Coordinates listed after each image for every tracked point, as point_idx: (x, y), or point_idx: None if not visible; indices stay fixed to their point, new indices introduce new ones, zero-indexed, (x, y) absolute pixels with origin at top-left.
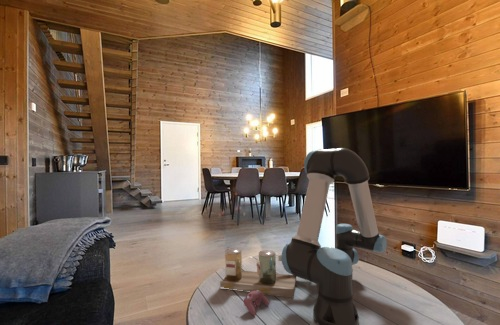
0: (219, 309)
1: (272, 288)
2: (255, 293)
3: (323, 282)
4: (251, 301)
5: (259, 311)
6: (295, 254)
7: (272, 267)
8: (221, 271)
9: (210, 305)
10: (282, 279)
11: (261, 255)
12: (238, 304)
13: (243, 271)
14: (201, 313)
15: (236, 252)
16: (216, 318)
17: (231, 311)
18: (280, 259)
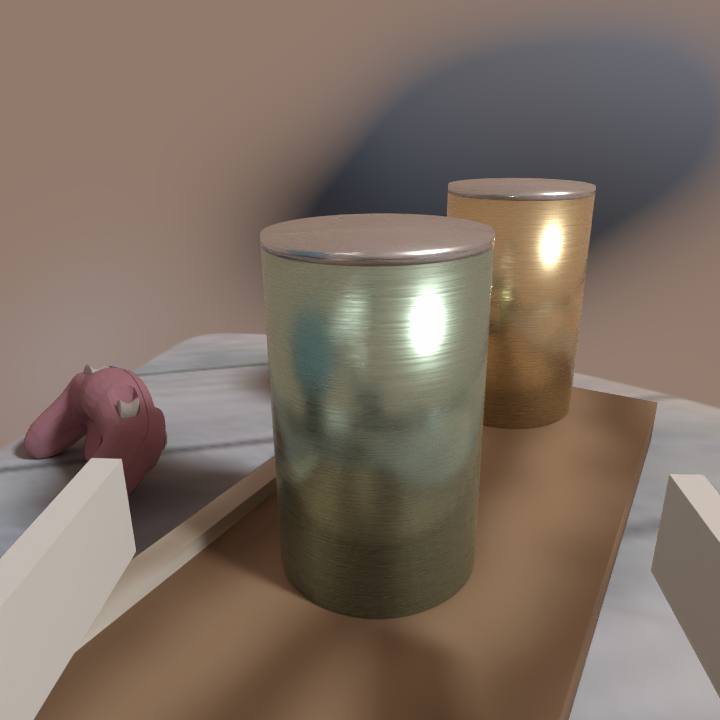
0: (212, 379)
1: (178, 533)
2: (90, 383)
3: None
4: (73, 394)
5: (51, 481)
6: None
7: (271, 393)
8: (705, 410)
9: (267, 364)
10: (352, 693)
11: (323, 218)
12: (205, 426)
13: (624, 446)
14: (221, 348)
15: (469, 186)
16: (148, 370)
17: (161, 403)
18: (665, 566)
